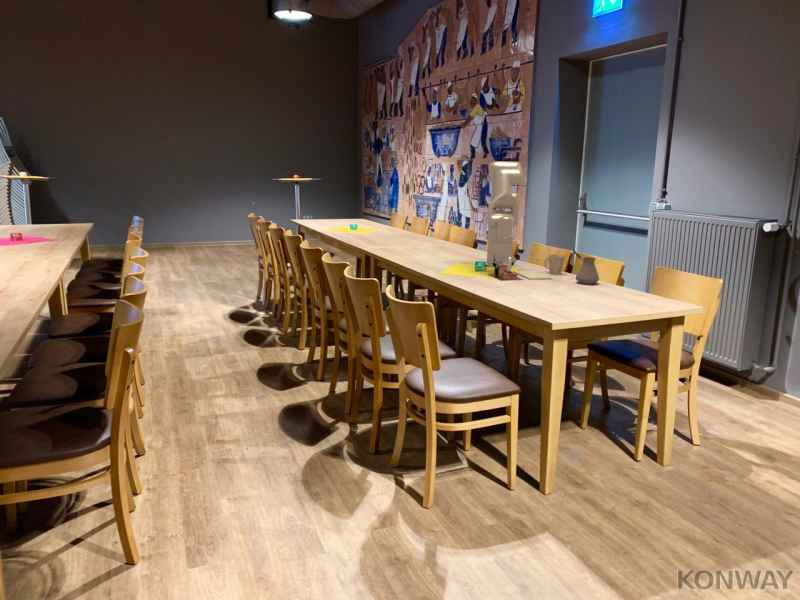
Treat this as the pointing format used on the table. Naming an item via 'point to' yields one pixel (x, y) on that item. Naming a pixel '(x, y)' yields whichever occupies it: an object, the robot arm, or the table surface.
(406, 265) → the table surface
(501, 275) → the link
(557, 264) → the mug
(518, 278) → the stand
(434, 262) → the table surface
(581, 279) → the coffee pot
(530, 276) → the board
